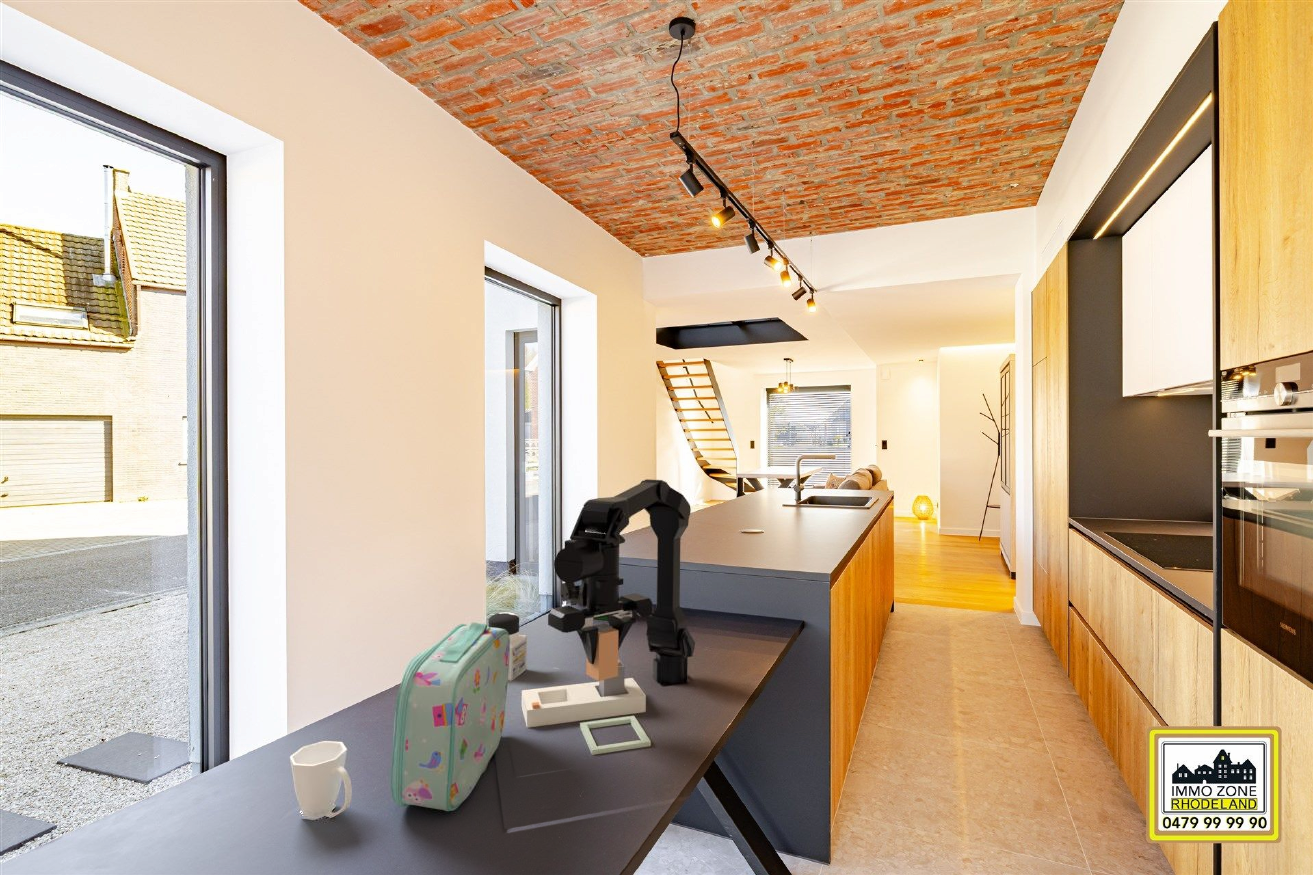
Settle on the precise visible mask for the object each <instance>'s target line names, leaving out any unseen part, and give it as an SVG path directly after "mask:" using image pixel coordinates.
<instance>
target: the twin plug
mask: <svg viewBox="0 0 1313 875" xmlns="http://www.w3.org/2000/svg"><path fill="white" fill-rule="evenodd" d="M625 668H626V666H625V665H624V663H623V662H622V661H621V659H620V658H618V676H616V677H613V678H609V679H605V680H602V681H598V682H599V695H600V696H601V697H606V696H614V695H622V694H624V682H625V679H626V678H625V676H626V675H625V674H626V671H625Z"/></svg>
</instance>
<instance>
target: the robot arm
mask: <svg viewBox="0 0 1313 875" xmlns="http://www.w3.org/2000/svg"><path fill="white" fill-rule="evenodd" d="M643 510H645V512H646V513H647V514H648V516H649V524H650V527H651V529H652V531H653V532H654V535H655V537H656V539H657V550H656V551H657V552H656V558H657V559H656V605H655V606H656V607H655V608H654V603H653V601H652V599H651V597H647V596H644V595H641V594H638V593H630V594H629V593H628V594H624V595H620V586H622V585H624V578H622V577H620V545H622V544H625V543H626V539H625V538H624V536H622V535H621V533H622V532H623V531H624V530H625V529H626V528H627V527H628V526H629V525H630V519H631V518H632V517H633V516H635V515H636V514H637V513H639V512H642V511H643ZM691 512H692V508H691V505H690V503H689V501H688V500H687V499H686V497H685V496H684V494H682V493H681V492H679V491H678V490H677V489H676V490H675V488H672V487H671V486H670V485H669V484H668V482H667V481H665V480H663V479H650V478H649V479H648V478H646V479H644V480H642V481H640V483H638V484H636V485H634V486H632V487H630V488H628V489H627V490H624V491H622V492H620V493H619V494H615V495H614V496H612V497H611V496H609V497H597V498H591V499H588V500H587V501H586V502H584V504H583V507H582V509H581V511H580V512H579V515H578V517H577V519H576V522H575V524H574V527H573V528H572V529H573V530H572V531H571V534H570V537H569V539H567V540H565V541H564V547H563V548H562V549H560V550H559V551H558V552H557V554H556V555H555V559H554V560H553V567H554V571H555V574H556V575H557V577H558V578H559V580H560V581H562V582H563V583H561V584H560V598H561V601H562V602H564V603H565V602H568V601H569V602H570V605H564V606H560V607H554V608H551V610H550V611H549V613H548V615H547V625H548V626H549V627H552V628H553V629H556V630H557V631H559V632H562V633H565V634H567V633H572V632H576V633H577V634H578V636H579V639H580V642H581V643H582V646H583V648H584V649H583V650H584V652H585V656H586V655H587V658H588V661H589V663H591V664H594V661H595V657H596V648H597V638H598V628H597V627H595V626H594V620H597V619H596V618H601V617H605V616H606V617H607V620H606V621H607V623H608V625H610V626H612V628H614V629H617V630H618V651H619V650H620V649H621V646H622V644H623V643H624V640H625V638H626V636H627V634H628V632H629V631H630V629H631V628H632V626H633V625H634V624H635V623H637V622H638V620H637V618H635V617H633V611H635V613H636V615H637V616H639V617H641V618H642V617H643V618H644V617H646V616H648V617H647V618H646V626H647V628H646V632H645V633H646V634H645V635H646V639H647V644H648V650H649V652H650V653H655V657H654V658H653V662H652V663H653V664H652V669H653V670H652V672H653V673H652V677H653V679H654V680H655V682H657V683H658V684H659V685H660V686H661V687H671V686H680V685H688V684H691V681H690V680H689V679H688V669H689V668H688V667H689V666H688V665H689V664H688V659H689V658H690V657H693V655H694V654H693V653H694V652H695V649H696V648H695V646H696V642H695V640H694V638H693V636H692V634H691V633H690V631H689V630H688V618H687V616H686V615H685V613H684V611H683V609H682V607H681V605H680V603H681V602H680V601H681V600H680V598H681V591H680V590H681V538H682V536H683V535H684V533H685V531H686V530H687V528H688V526H689V520H690V516H691ZM580 581H581V584H578V585H575V583H577V582H580ZM577 604H578V606H579V607H585V608H583V609H578V608H576V607H574V606H576V605H577ZM594 612H595V613H594ZM596 612H598V613H596Z"/></svg>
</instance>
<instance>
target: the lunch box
mask: <svg viewBox="0 0 1313 875" xmlns="http://www.w3.org/2000/svg"><path fill="white" fill-rule="evenodd" d="M470 623H471V624H469V625H467V624H465V623H460V624H458V625H457V626H455V627H454V628H452V630H450V631H449V632H448V633H447V634H446V635H445V636H444V637H443V638H441V639H440V640H439V641H438V642H437V643H435V644H434V645H433V646H431V647H430V648H428V649H425V650H424V651H423V652H420V653H419V654H417V655H415V656H414V657H413V658H411V660H410V661H409V662H408V665H407V667H406V669H405V671H404V673H403V676H402V679H401V682H400V685H399V689H398V691H397V696H396V702H395V713H394V717H393V718H394V720H393V739H392V740H393V741H392V754H391V755H392V756H391V768H390V790H391V797H392V800H393V801H394V803H396V804H397V806H398V807H399V808H402V807H403V808H404V807H406V806H409V805H410V806H411V805H412V806H417V807H422V808H428V809H429V808H430V809H436V810H442V811H446V812H452V811H455V810H456V809H458V808H459V806H461V804H463V802H464V801H465V800H466V799H467V798H468V797H469V796H470V794H471V793H472V791H473V790H474V788H475V786H476V785H477V783H478V781H479V780H480V777H481V776H482V774H484V773H485V772H486V769H487V768H488V765H489V762H490V760H491V758H492V757H493V755H494V754H495V752H496V751H497V749H498V748H499V745H500V741H501V737H502V733H503V730H504V724H505V717H506V701H507V700H506V699H507V693H508V692H507V691H508V682H509V680H508V671H509V654H510V638H509V634H508V632H507V631H506V630H505V629H500V628H492V627H488V623H483V622H470Z"/></svg>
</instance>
